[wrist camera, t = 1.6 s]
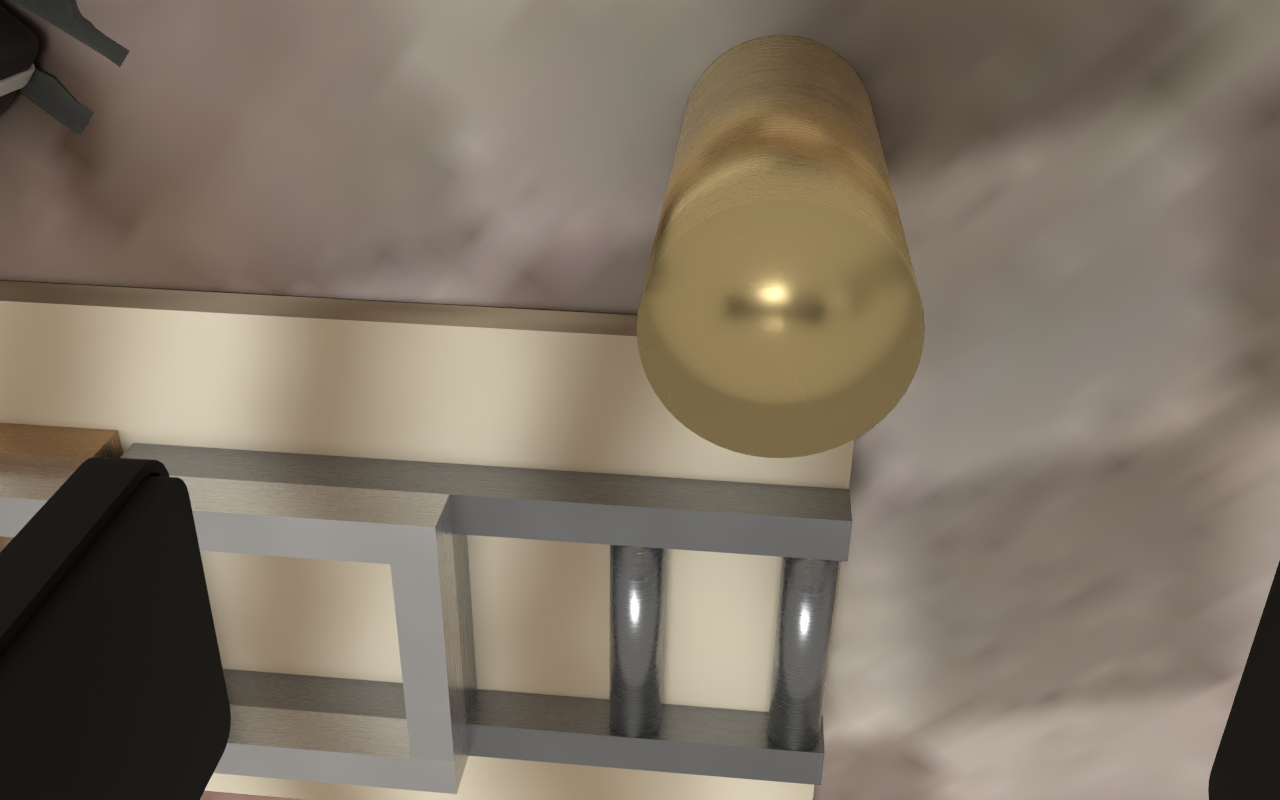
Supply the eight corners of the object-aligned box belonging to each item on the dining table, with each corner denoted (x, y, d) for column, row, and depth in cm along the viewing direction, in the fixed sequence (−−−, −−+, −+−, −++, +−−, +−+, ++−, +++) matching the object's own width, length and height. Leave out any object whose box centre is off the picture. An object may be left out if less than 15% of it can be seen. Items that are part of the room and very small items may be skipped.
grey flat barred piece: (461, 452, 26) (434, 514, 24) (479, 728, 30) (457, 803, 28) (-223, 408, 27) (-306, 464, 25) (-122, 679, 31) (-186, 747, 29)
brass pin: (883, 38, 22) (942, 207, 14) (863, 225, 24) (905, 466, 16) (686, 31, 22) (638, 192, 15) (681, 216, 24) (634, 449, 16)
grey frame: (848, 489, 26) (851, 521, 25) (818, 747, 29) (820, 784, 28) (133, 442, 27) (107, 471, 26) (188, 695, 30) (167, 730, 29)
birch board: (862, 327, 25) (865, 349, 24) (807, 812, 32) (807, 843, 31) (-236, 268, 27) (-270, 285, 26) (-67, 737, 34) (-89, 765, 33)
